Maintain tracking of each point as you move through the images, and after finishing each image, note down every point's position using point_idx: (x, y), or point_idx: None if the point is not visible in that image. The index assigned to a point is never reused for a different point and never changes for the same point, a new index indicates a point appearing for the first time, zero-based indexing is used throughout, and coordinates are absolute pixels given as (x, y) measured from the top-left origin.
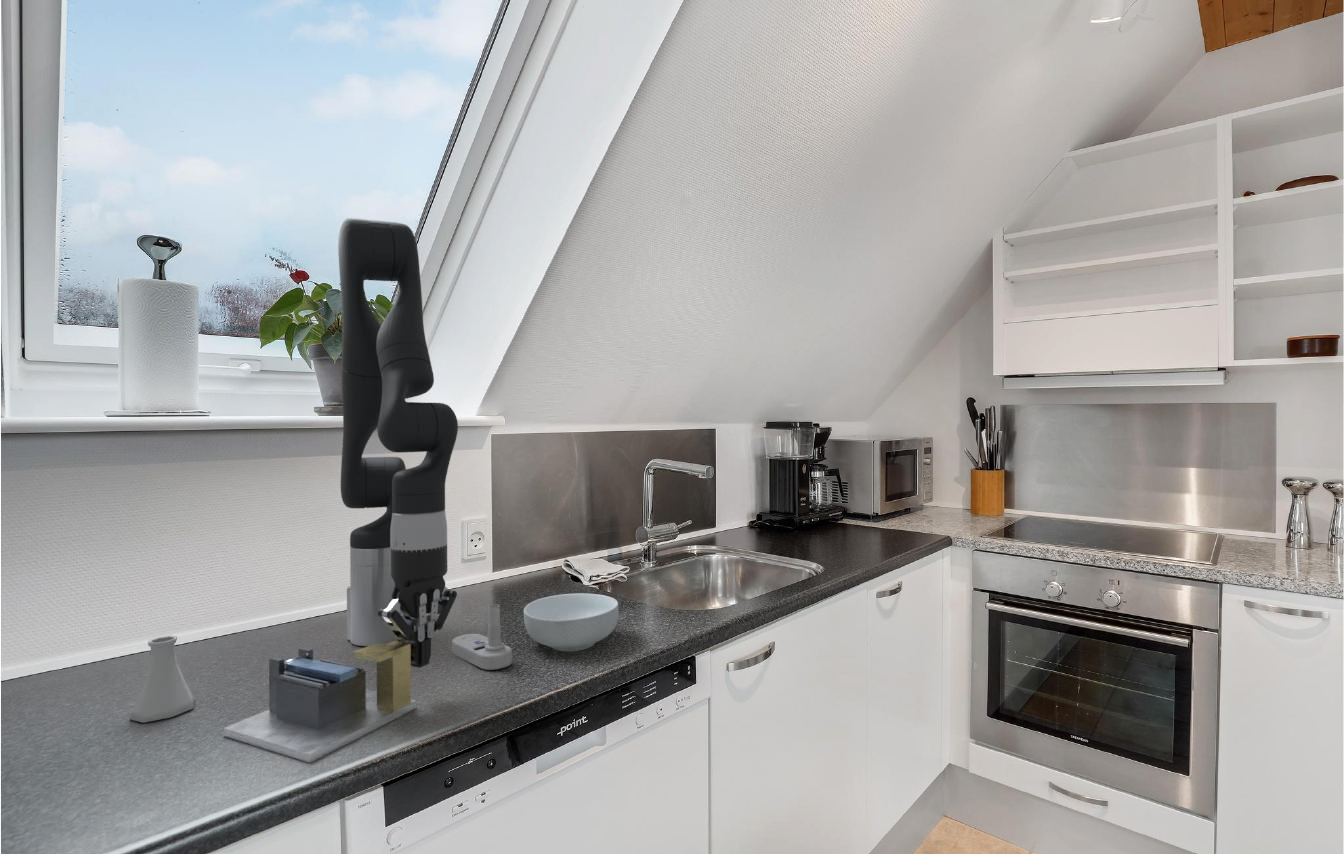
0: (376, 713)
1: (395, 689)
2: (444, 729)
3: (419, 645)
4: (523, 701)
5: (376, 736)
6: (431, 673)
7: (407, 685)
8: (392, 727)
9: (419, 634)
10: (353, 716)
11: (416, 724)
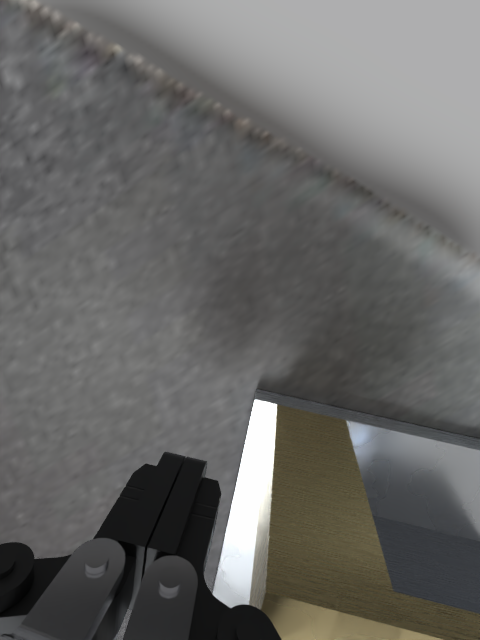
0: (361, 459)
1: (346, 461)
2: (377, 222)
3: (181, 546)
4: (117, 61)
5: (448, 394)
6: (46, 467)
7: (291, 444)
8: (387, 384)
9: (181, 609)
10: (388, 505)
11: (357, 328)
